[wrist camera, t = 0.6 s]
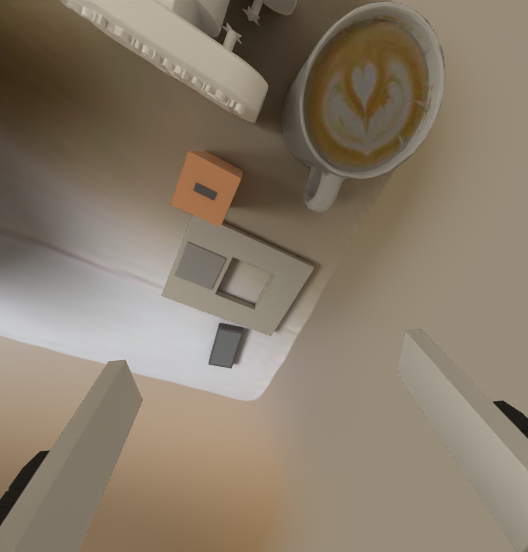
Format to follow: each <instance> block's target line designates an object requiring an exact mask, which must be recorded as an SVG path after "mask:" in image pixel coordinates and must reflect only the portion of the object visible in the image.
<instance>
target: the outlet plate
mask: <svg viewBox="0 0 528 552" xmlns="http://www.w3.org/2000/svg"><path fill="white" fill-rule="evenodd" d="M233 257H234V258H236V259H239V260H241V261H243V262H246V263H248V264H250V265H252V266H255V267H257V268H259V269H262V270H264V271H266V272H269V273H271V274H272V275H271V277H270V279H269V281H268V282H267V284H266V286H265V288H264V290H263V291H262V293H261V295H260V297H259V298H258V300H257V302H256V304H255V305H253V304H251V303H248V302H246V301H243V300H241V299H238V298H235V297H233V296H230V295H228V294H225V293H223V292H220V291H218V290H217V289H218V287H219V285H220V282H221V280H222V278H223V276H224V274H225V272H226V270H227V268H228V266H229V264H230V262H231V260H232V258H233ZM313 270H314V266H313V264H312V263H309V262H307V261H305V260H303V259H301V258H299V257H297V256H294V255H292V254H290V253H288V252H286V251H284V250H282V249H279V248H277V247H275V246H273V245H271V244H269V243H267V242H264V241H262V240H260V239H258V238H256V237H254V236H252V235H249V234H247V233H245V232H243V231H241V230H239V229H237V228H234V227H232V226H230V225H228V224H226V223H224V222H222V224H221V227H219V226H217V225H214V224H212V223H210V222H208V221H206V220H203V219H201V218H199V217H197V216H195V215H192V217H191V220H190V223H189V225H188V228H187V230H186V233H185V236H184V238H183V241H182V243H181V246H180V249H179V251H178V254H177V256H176V259H175V262H174V264H173V267H172V269H171V272H170V275H169V277H168V280H167V283H166V285H165V288H164V290H163V293H162V296H163V297H166V298H169V299H171V300H174V301H177V302H179V303H182V304H185V305H188V306H190V307H193V308H196V309H198V310H201V311H204V312H207V313H209V314H212V315H215V316H217V317H220V318H223V319H226V320H228V321H231V322H234V323H237V324H239V325H242V326H245V327H247V328H250V329H253V330H256V331H258V332H261V333H264V334H266V335H269V336H271V335H272V334H273V332H274V331H275V329H276V328H277V326H278V324H279V323H280V321H281V320H282V318H283V317H284V315H285V313H286V312H287V310H288V309H289V307H290V306H291V304H292V302H293V301H294V299H295V298H296V296H297V295H298V293H299V291H300V290H301V288H302V287H303V285H304V284H305V282H306V280H307V279H308V277H309V276H310V274H311V273H312V271H313Z"/></svg>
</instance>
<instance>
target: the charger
mask: <svg viewBox="0 0 528 552" xmlns="http://www.w3.org/2000/svg"><path fill="white" fill-rule="evenodd" d="M242 175H243V171H242V170H240V169H239V168H237V167H235V166H233V165H231V164H229V163H227V162H225V161H224V160H222V159H220V158H218V157H216V156H214V155H212V154H210V153H208V152H207V151H188V154H187V157H186V160H185V162H184V165H183V168H182V171H181V174H180V177H179V180H178V183H177V186H176V189H175V192H174V195H173V198H172V201H171V203H170V204H171V205H173V206H175V207H177V208H180V209H182V210H184V211H186V212H188V213H190V214H193V215H195V216H197V217H199V218H201V219H203V220H206V221H208V222H210V223H212V224H214V225H217V226H219V227H221V224H222V222H223V220H224V217H225V215H226V213H227V211H228V208H229V206H230V204H231V201H232V199H233V197H234V195H235V192H236V190H237V188H238V185H239V183H240V181H241V179H242Z"/></svg>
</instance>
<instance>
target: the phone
mask: <svg viewBox="0 0 528 552" xmlns="http://www.w3.org/2000/svg"><path fill="white" fill-rule="evenodd" d="M243 330H244V328H241V327H237V326H232V325H227V324H222V323H219V326H218V330H217V333H216V337H215V340H214V344H213V348H212V351H211V355H210V359H209V364H210V365H215V366H221V367H227V368H232V365H233V362H234V359H235V356H236V353H237V350H238V347H239V344H240V341H241V338H242V335H243Z"/></svg>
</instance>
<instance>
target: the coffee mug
mask: <svg viewBox="0 0 528 552" xmlns="http://www.w3.org/2000/svg"><path fill="white" fill-rule="evenodd" d="M444 85H445V65H444V56H443V52H442V48H441V45H440V42H439V40H438V37H437V35H436V33H435V32H434V30H433V29H432V27H431V25H430V24H429V22H428V21H427V20H426V19H425V18H424V17H423V16H422V15H421V14H419V13H418V12H417V11H415V10H413V9H412V8H410V7H408V6H405V5H403V4H400V3H395V2H375V3H370V4H366V5H364V6H361V7H358V8H356V9H354V10H353V11H351V12H349V13H348V14H346V15H345V16H343V17H342V18H341V19H339V20H338V21H337V22H336V23H335V24H334V25H333V26H331V27H330V28H329V29H328V31H327V32H326V33H325V34H324V35H323V36H322V38H321V39H320V40H319V42H318V43H317V45H316V46H315V48H314V49H313V51H312V53H311V54H310V56H309V57H308V59H307V60H306V62H305V63H304V65H303V67H302V68H301V70H300V71H299V73H298V74H297V76H296V78H295V79H294V81H293V82H292V84H291V85H290V87H289V89H288V91H287V94H286V96H285V99H284V103H283V108H282V131H283V135H284V139H285V142H286V144H287V146H288V148H289V150H290V152H291V153H292V154H293V156H294V157H295V158H296V159H297V160H298V161H300V162H301V163H302V164H304V165H306V166H307V167H310V174H309V177H308V181H307V184H306V188H305V193H304V202H305V205H306V207H307V208H308V209H310V210H312V211H315V212H325V211H327V210H328V209H329V208H330V207H331V206H332V204H333V203H334V201H335V199H336V197H337V195H338V193H339V190H340V187H341V185H342V182H343V181H344V180H345V179H346V178H350V179H367V178H372V177H376V176H380V175H382V174H384V173H387V172H389V171H391V170H393V169H394V168H396V167H398V166H399V165H400V164H402V163H403V162H404V161H405V160H406V159H408V158H409V157H410V156H411V155H412V154H413V153H414V152H415V151H416V150H417V149H418V147H419V146H420V145H421V144H422V142H423V141H424V139H425V138H426V137H427V135H428V133H429V132H430V130H431V128H432V126H433V124H434V122H435V119H436V117H437V114H438V112H439V109H440V106H441V102H442V98H443V92H444Z"/></svg>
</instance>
